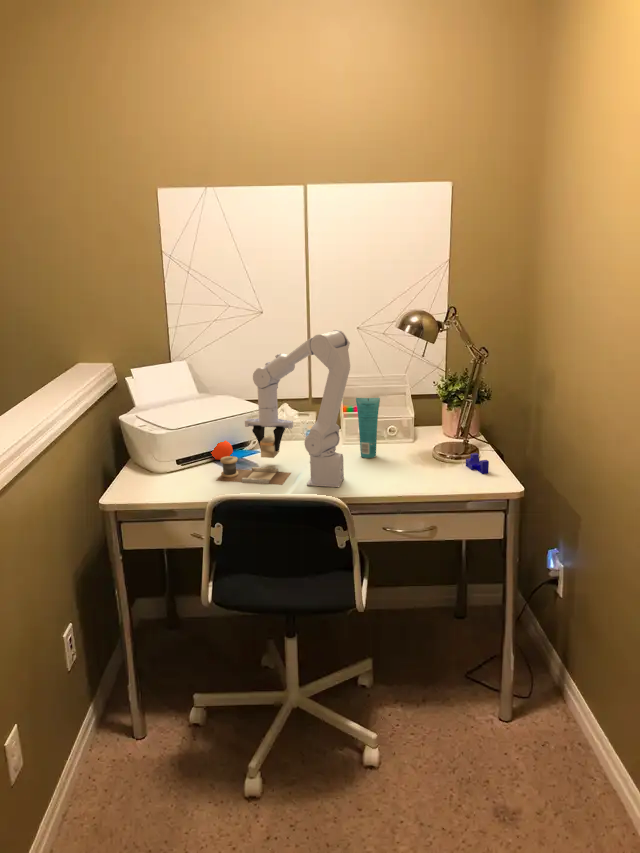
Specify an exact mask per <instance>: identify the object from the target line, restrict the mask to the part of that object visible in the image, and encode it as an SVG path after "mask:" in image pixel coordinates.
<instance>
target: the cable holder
mask: <svg viewBox="0 0 640 853" xmlns="http://www.w3.org/2000/svg"><path fill="white" fill-rule="evenodd" d="M479 455H480V454H479V453H477V452H474V453H470V455H469V456H470V458H465V467H466V468H468V469H469V470H471V471H475V470H476V471H478V472H479V473H480V474H481V475H487V474H489V468H490V467H489V465H490V461H489V460H487V459H482V460H481V459H480V456H479Z"/></svg>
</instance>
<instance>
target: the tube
mask: <svg viewBox="0 0 640 853" xmlns="http://www.w3.org/2000/svg"><path fill="white" fill-rule="evenodd" d="M380 400H381V397H355V402H356V411H357V420H358V434H359V450H360V457H361V458H364V459H373V458H375V457H376V456H377V442H378V441H377V437H378V434H377V433H378V421H379V420H378V419H379V408H380V402H381V401H380Z"/></svg>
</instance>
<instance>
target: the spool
mask: <svg viewBox="0 0 640 853" xmlns="http://www.w3.org/2000/svg"><path fill="white" fill-rule="evenodd" d="M238 460H239V459H238V457H237V456H235V455H234V456H233V455H232V456H226V457H223V458H221V459H220V462H219V463H221V464H222V471H221V473H220V476H222V477H224V478H233V477H236V476H238V471H236V469H237V462H239V461H238Z"/></svg>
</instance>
